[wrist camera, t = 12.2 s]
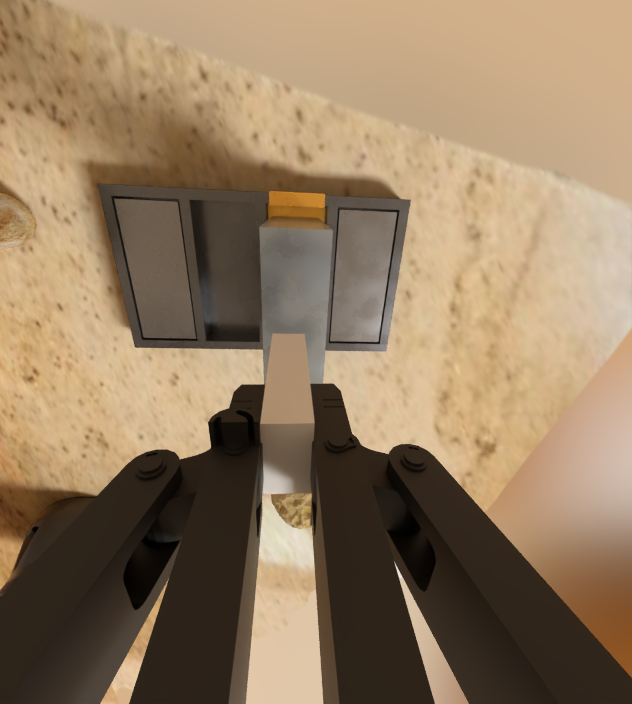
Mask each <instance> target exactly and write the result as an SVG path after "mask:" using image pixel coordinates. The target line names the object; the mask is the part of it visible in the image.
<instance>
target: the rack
mask: <svg viewBox="0 0 632 704" xmlns="http://www.w3.org/2000/svg"><path fill="white" fill-rule="evenodd" d="M98 188H99V193H100V197H101V201H102V206H103V210H104V214H105V219H106V223H107V227H108V232H109V236H110V241H111V245H112V249H113V254H114V258H115V262H116V267H117V271H118V275H119V280H120V284H121V288H122V293H123V297H124V301H125V306H126V310H127V314H128V319H129V323H130V327H131V332H132V336H133V341H134V345H135V347H137V348H201V349H263V329H262V297H261V265H260V233H259V227H260V226H261V225H262V224H264V223H265V222H266V221H267V220H269V219H270V218H271V217H272V216H290V217H311V218H319V219H320V220H322V221H323V222H324V223H325V224H326V225H327V226H329V227H330V228H331V229H332V230H333V238H332V254H331V269H330V284H329V299H328V315H327V330H326V345H325V350H329V351H386V350H387V344H388V338H389V331H390V325H391V319H392V313H393V307H394V300H395V294H396V288H397V282H398V275H399V269H400V263H401V257H402V251H403V244H404V238H405V232H406V226H407V219H408V213H409V207H410V201H411V200H404V199H385V198H366V197H346V196H327V195H325V194H318V193H299V192H280V191H269V192H250V191H231V190H212V189H193V188H173V187H154V186H135V185H116V184H98Z"/></svg>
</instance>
